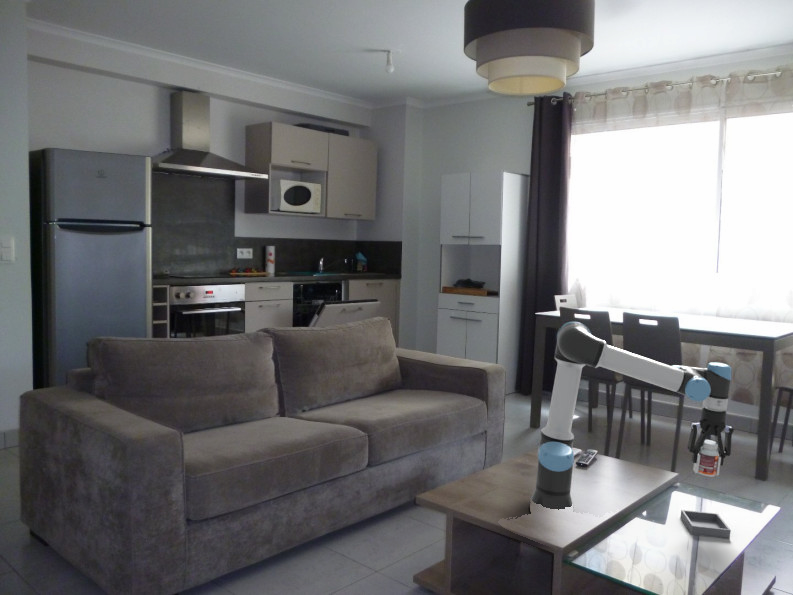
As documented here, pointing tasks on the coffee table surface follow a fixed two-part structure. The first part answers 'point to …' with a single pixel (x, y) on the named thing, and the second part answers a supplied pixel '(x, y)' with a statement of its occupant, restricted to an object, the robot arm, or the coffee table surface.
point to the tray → (705, 524)
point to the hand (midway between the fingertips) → (705, 472)
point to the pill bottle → (708, 458)
